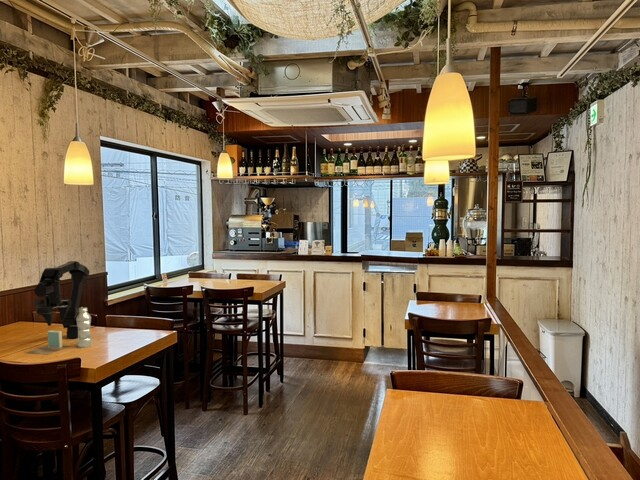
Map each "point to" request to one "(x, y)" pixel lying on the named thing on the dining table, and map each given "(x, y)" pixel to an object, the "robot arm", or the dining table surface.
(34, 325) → the dining table surface
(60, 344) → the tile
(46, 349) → the board
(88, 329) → the plastic bottle
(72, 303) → the robot arm
